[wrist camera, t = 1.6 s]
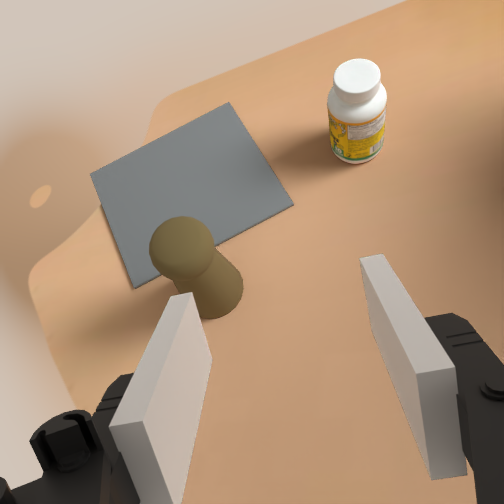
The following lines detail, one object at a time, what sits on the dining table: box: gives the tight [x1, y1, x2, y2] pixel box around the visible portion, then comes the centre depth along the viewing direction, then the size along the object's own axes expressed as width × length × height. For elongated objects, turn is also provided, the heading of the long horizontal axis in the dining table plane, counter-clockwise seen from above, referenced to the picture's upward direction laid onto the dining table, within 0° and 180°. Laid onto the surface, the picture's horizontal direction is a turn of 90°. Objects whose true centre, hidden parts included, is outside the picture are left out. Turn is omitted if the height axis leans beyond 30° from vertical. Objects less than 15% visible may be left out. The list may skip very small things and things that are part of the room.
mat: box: [90, 102, 294, 289], centre depth 51 cm, size 18×16×1 cm
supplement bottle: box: [327, 59, 387, 164], centre depth 46 cm, size 5×5×10 cm
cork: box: [149, 216, 243, 319], centre depth 41 cm, size 6×6×11 cm
